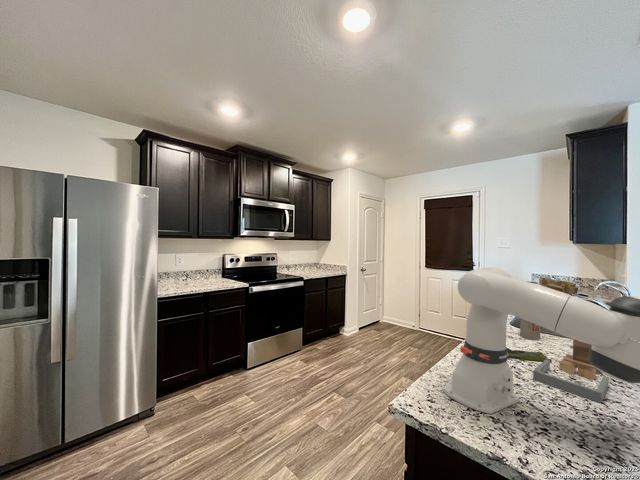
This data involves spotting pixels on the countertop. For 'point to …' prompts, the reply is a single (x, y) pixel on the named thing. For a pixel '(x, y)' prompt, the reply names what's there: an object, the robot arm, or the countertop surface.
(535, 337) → the thermos bottle
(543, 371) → the grey u-shaped frame
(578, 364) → the wooden post block
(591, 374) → the offcut right
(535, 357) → the gun
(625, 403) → the countertop surface
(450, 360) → the countertop surface
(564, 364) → the offcut left
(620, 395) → the countertop surface
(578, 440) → the countertop surface
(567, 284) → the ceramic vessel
